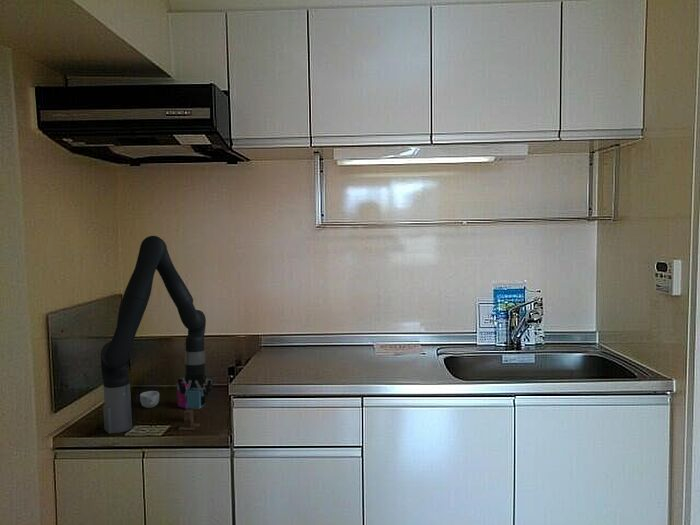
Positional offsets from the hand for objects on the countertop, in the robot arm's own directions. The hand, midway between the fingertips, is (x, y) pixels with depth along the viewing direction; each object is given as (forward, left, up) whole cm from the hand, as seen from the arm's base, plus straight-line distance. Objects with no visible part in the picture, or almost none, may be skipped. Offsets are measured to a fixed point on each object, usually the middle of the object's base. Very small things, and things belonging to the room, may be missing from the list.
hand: (195, 404), depth 226 cm
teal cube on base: (0, 0, -1) cm, 1 cm away
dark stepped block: (-5, -5, -6) cm, 10 cm away
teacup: (-8, +29, -7) cm, 31 cm away
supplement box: (+4, +19, -7) cm, 20 cm away
